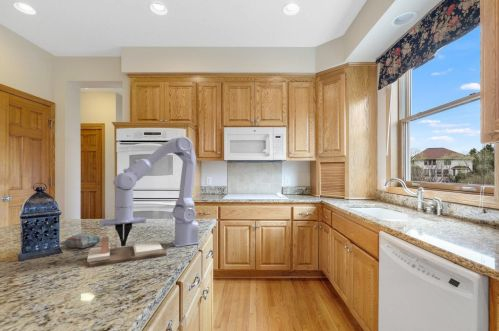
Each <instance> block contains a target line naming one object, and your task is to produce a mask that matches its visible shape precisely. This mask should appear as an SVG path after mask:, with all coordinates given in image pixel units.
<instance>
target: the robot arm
mask: <svg viewBox="0 0 499 331" xmlns="http://www.w3.org/2000/svg"><path fill="white" fill-rule="evenodd" d="M168 154H173V155H175V156H177V157H179V158H180V160H181V161H182V166H181V175H180V184H179V193H178V198H177V200H176V201H175V206H174V207H173V210H172V211H171V212H172V217H173V218H174V240H171V243H172V244H173V245H174V247H176V248H178V247H184V246H194V245H199V244H200V242H199V241H200V240H199V239H200V238H199V236H200V235H199V231H200V228H199V223H198V221H196V220H195V218H196V217H197V211H196V209H195V207H196V205H195V204H196V203H195V202H194V200H193V192H194V182H195V173H196V172H195V171H196V165H197V164H196V163H197V155H196V152H195V149H194V142H193V141H192V140H191V139H190V138H189V137H187V136H184V135H183V136H179V137H175V138H174V137H173V138H171V139H170V140H169V141H168V140H167V141H166V142H165V143H163V144H162V145H160V147H158V148H157V149H156V150H154V152H153V153H151V154H150V155H148V156H147V157H146V158H140V159H139V158H138V159H135V160H134V161H133V164H131V165H130V166H129V167H128V168H124V169H123V170H122V171H123V172H121V173H120V172H119V173H118V174H117V175H116V176H115V177H114V180H113V181H112V182H113V185H114V186H115V195H114V218H111V219H105V220H104V219H103V220H99V228H103V227H111V226H112V227H113V226H114V229H115V231H116V233H117V235H118V237H119V241H120V246H121V247H127V246H126V244H127V240H128V237H129V234H130V233H131V230H132V229H133V225H136V224H137V225H138V224H146V223H147V217H146V216H145V217H144V216H142V217H138V216H137V217H134V213H133V212H134V187H135V186H136V184H137V182H139V180H141V179H143V178H144V177H145V176H146V175H147V174H148V173H150V172H151V170H152V168H153V167H152V166H153V165H155V164H156V163H157V162H159V161H160V160H161V159H162V158H164V157H166V156H167V155H168Z"/></svg>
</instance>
